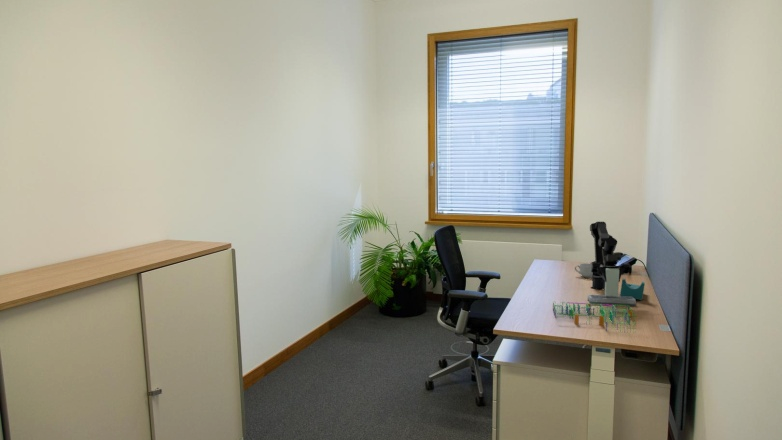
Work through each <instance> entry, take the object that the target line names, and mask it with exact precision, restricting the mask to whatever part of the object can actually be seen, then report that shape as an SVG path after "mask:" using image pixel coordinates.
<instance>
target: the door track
mask: <svg viewBox="0 0 782 440" xmlns="http://www.w3.org/2000/svg"><path fill="white" fill-rule="evenodd" d="M636 300H637V299H634V298H633V297H632V296H620V295H618V296H606V295H605V294H587V303H588V304H598V306H600V304H608V306H612V305H614V306H616V305H617V307H621V306H620V305H627V307H628V306H630V307H637V303H636Z"/></svg>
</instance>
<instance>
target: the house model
mask: <svg viewBox="0 0 782 440" xmlns="http://www.w3.org/2000/svg"><path fill="white" fill-rule="evenodd" d="M561 303H562V304H555V301H552V312H553V315H554V318H556V319H557V315H559V316H568V317H569V319H572V320H574V324H575V325H579V324H580V325H581V324H582V325H583V324H584V325H585V324H586V325H587V324H588V323H589V325H591V318H592V317H594V318H598V320H599V321H598V326H602V327H603V328H605V332H607V329H610V328H611V327H610V326H612V324H616V326H612V329H619V333H621V329H622V333H623V332H624V333H625V332H627V333H628V331H629V329H630V331H629V333H631V331H632V330H634V329H635V330H636V327H635V328H634V326H636V325H637V323H636V322H632V326H631V321H633V317H634V318H636V314H634V312H633V308H632V306H627V305H620V306H618V305H611V309H610V307H609V305H608V304H600V305H598V304H590V303H589V302H587V303H586V302H585V303H583V302H572V305H571V302H569V301H568V302H565V301H561ZM564 304H565V306H564ZM584 305H585V306H584ZM596 306H597V307H596ZM617 307H618V308H617ZM622 307H624V308H622ZM618 309H623V310H618ZM586 311H587V312H586ZM576 312H578V313H576ZM581 312H584V314H581ZM587 313H588V314H587ZM590 313H592V314H590ZM595 313H596V315H595ZM597 313H598V315H597ZM620 313H623V314H622V317H623V321H619V316H617V314H620ZM579 314H580V315H579ZM580 317H589V318H588V322H586V323H583V322H579V319H580ZM614 317H615V318H614ZM607 318H608V320H607ZM609 318H610V319H609ZM610 320H611V321H612V322H611V321H610ZM608 324H609V326H608ZM622 324H623V325H628V326H627V329H628V330H624V328H622V326H621V325H622ZM629 326H630V327H629ZM634 333H635V334H636V333H637V331H635V332H634Z"/></svg>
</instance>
